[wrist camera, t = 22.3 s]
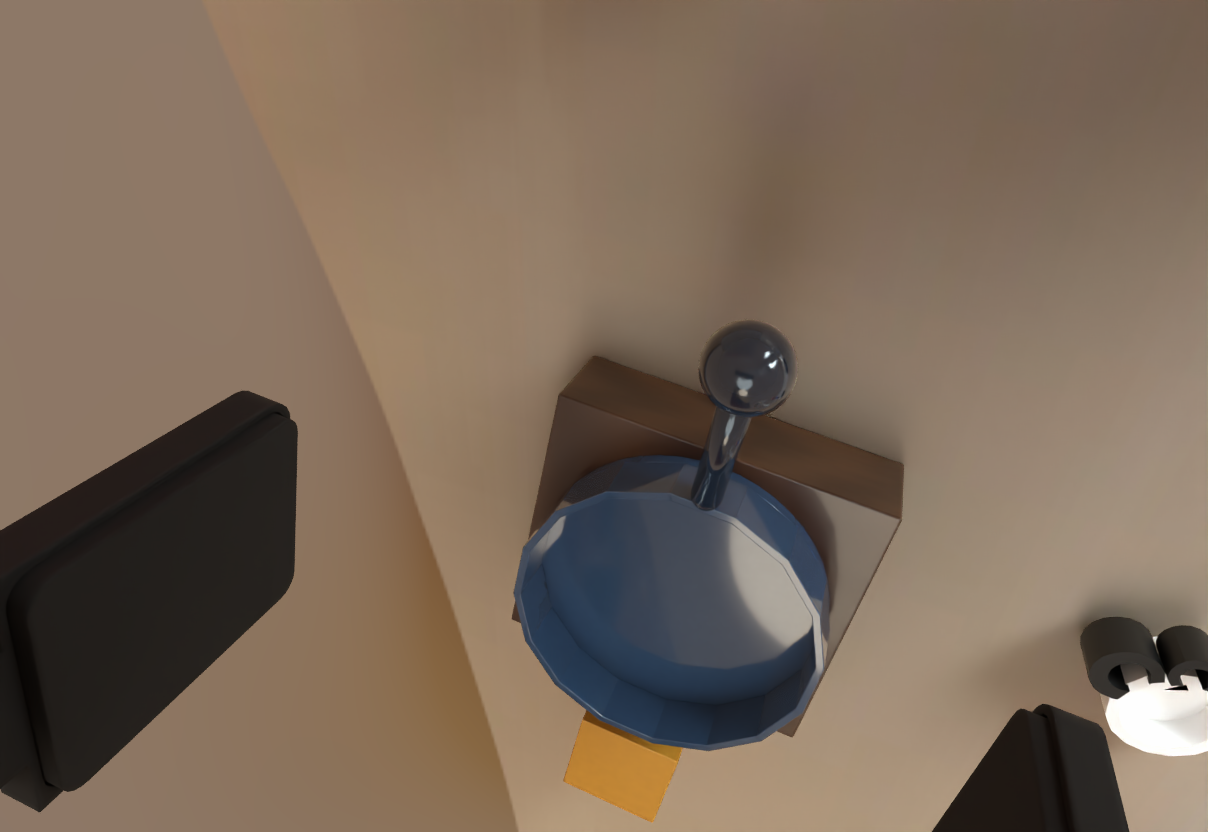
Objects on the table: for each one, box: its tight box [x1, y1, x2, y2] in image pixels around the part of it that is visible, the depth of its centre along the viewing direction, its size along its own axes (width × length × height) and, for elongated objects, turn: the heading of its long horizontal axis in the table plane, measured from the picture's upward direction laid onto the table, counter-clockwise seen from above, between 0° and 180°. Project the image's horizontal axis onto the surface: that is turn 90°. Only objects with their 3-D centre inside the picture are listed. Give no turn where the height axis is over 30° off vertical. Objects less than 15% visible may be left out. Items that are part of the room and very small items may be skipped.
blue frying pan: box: [514, 319, 830, 751], centre depth 29 cm, size 12×19×6 cm, turn 167°
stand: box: [512, 356, 904, 737], centre depth 34 cm, size 13×12×4 cm
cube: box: [564, 711, 683, 822], centre depth 40 cm, size 5×5×5 cm
